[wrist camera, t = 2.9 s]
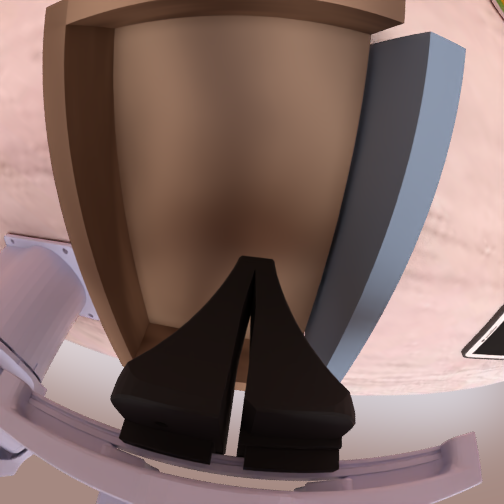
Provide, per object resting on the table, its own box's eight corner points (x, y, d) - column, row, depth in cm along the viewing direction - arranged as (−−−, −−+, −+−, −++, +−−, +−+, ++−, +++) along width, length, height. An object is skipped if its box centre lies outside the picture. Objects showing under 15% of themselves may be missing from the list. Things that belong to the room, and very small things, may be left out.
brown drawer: (145, 315, 21) (122, 366, 17) (112, 15, 9) (46, 7, 5) (296, 337, 21) (296, 395, 17) (363, 16, 8) (405, -8, 4)
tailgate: (304, 327, 20) (305, 403, 15) (368, 45, 9) (430, 31, 4) (320, 329, 20) (325, 403, 15) (392, 52, 9) (465, 48, 4)
